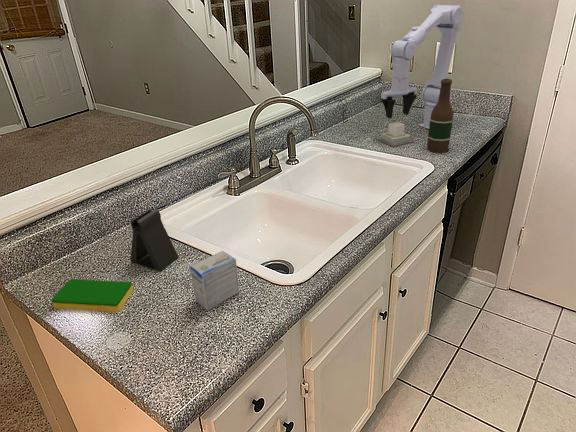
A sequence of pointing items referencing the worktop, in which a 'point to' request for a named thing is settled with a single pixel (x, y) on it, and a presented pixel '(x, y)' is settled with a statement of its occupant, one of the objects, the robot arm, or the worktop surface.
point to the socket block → (395, 139)
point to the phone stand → (151, 242)
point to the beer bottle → (441, 120)
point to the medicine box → (215, 279)
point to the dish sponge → (93, 295)
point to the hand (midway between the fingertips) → (397, 115)
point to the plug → (396, 129)
